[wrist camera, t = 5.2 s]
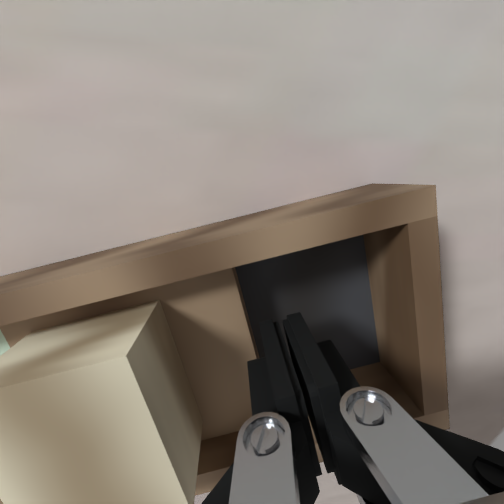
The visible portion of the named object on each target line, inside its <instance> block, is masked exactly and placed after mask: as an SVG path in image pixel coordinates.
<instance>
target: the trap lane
mask: <svg viewBox="0 0 504 504" xmlns="http://www.w3.org/2000/svg"><path fill="white" fill-rule="evenodd" d="M156 300H160V303H161V306H162V309H163V311H164V314H165V317H166V320H167V323H168V325H169V328H170V331H171V334H172V336H173V339H174V342H175V345H176V348H177V350H178V353H179V356H180V359H181V361H182V364H183V367H184V370H185V373H186V375H187V378H188V381H189V384H190V387H191V389H192V392H193V395H194V398H195V400H196V403H197V406H198V409H199V412H200V414H201V417H202V420H203V426H202V435H201V444H200V453H199V462H198V471H197V479H196V488H195V495H199V494H203V493H207V492H210V491H212V489H213V488H214V487H215V486H216V484H217V483H218V482H219V480H220V479H221V478H222V476H223V475H224V474H225V473H226V471H227V470H228V469H229V467H230V466H231V465H232V463H233V462H234V458H235V451H236V443H237V437H238V433H239V430H240V429H241V427H242V425H243V424H244V423H245V422H246V421H247V420H248V419H249V418H250V417H252V409H251V398H250V388H249V377H248V367H247V361H250V360H254V359H258V358H261V357H265V351H264V346H263V341H262V336H261V331H260V327H259V322H263V321H267V320H271V319H272V321H273V323H274V322H279V325H280V328H281V331H282V334H283V337H284V340H285V343H286V346H287V349H288V352H289V354H290V351H289V347H288V343H287V339H286V335H285V330H284V326H283V322H282V320H285V319H287V316H286V315H290V314H294V313H297V312H300V313H301V315H302V317H303V318H304V320H305V322H306V324H307V326H308V328H309V330H310V332H311V333H312V335H313V337H314V339H315V341H316V343H318V342H322V341H326V340H331V341H332V342H333V344H334V345H335V347H336V349H337V350H338V352H339V353H340V355H341V356H342V358H343V359H344V361H345V363H346V364H347V366H348V367H349V369H350V370H351V372H352V374H353V375H354V377H355V378H356V380H357V381H358V383H359V385H360V386H369V387H374V388H378V389H380V390H382V391H384V392H386V393H387V394H388V395H390V396H391V397H392V398H393V399H394V400H395V401H396V402H397V403H398V404H399V405H400V406H401V407H402V408H403V409H404V410H405V411H406V412H407V413H408V414H409V415H410V416H411V417H412V418H413V419H415V420H418V421H421V422H424V423H427V424H429V425H432V426H435V427H438V428H441V429H443V430H446V429H450V426H449V409H448V392H447V374H446V357H445V340H444V322H443V305H442V288H441V271H440V253H439V236H438V219H437V201H436V185H409V184H369V185H365V186H361V187H357V188H353V189H349V190H345V191H341V192H337V193H333V194H329V195H325V196H321V197H317V198H313V199H309V200H305V201H301V202H297V203H293V204H289V205H285V206H281V207H277V208H273V209H269V210H265V211H261V212H257V213H253V214H249V215H245V216H241V217H237V218H233V219H229V220H225V221H221V222H217V223H213V224H209V225H205V226H201V227H197V228H193V229H189V230H185V231H181V232H177V233H173V234H169V235H165V236H161V237H157V238H153V239H149V240H145V241H141V242H137V243H133V244H129V245H125V246H121V247H117V248H113V249H109V250H105V251H101V252H97V253H93V254H89V255H85V256H81V257H77V258H73V259H69V260H65V261H61V262H57V263H53V264H49V265H45V266H41V267H37V268H33V269H29V270H25V271H21V272H17V273H13V274H9V275H5V276H1V277H0V356H1V355H2V354H3V353H5V352H6V351H7V350H8V349H10V348H11V347H12V346H14V345H15V344H16V343H18V342H19V341H20V340H22V339H23V338H24V337H25V336H27V335H28V334H29V333H31V332H34V331H38V330H42V329H46V328H49V327H53V326H57V325H61V324H65V323H69V322H73V321H77V320H81V319H85V318H89V317H93V316H97V315H101V314H105V313H109V312H113V311H117V310H121V309H125V308H129V307H132V306H136V305H140V304H144V303H148V302H152V301H156ZM290 357H291V355H290ZM309 422H310V420H309ZM310 426H311V423H310ZM311 430H312V434H313V438H314V443H315V447H316V451H317V455H318V460H319V463H320V462H324V461H323V458H322V455H321V452H320V449H319V446H318V443H317V441H316V438H315V435H314V432H313V429H312V426H311ZM0 504H3V502H2V501H1V499H0Z"/></svg>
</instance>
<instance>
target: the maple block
mask: <svg viewBox="0 0 504 504" xmlns="http://www.w3.org/2000/svg"><path fill="white" fill-rule="evenodd" d="M202 426H203V420H202V417H201V414H200V412H199V409H198V406H197V403H196V400H195V398H194V395H193V392H192V389H191V387H190V384H189V381H188V378H187V375H186V373H185V370H184V367H183V364H182V361H181V359H180V356H179V353H178V350H177V348H176V345H175V342H174V339H173V336H172V334H171V331H170V328H169V325H168V323H167V320H166V317H165V314H164V311H163V309H162V306H161V303H160V300H156V301H152V302H148V303H144V304H140V305H136V306H132V307H129V308H125V309H121V310H117V311H113V312H109V313H105V314H101V315H97V316H93V317H89V318H85V319H81V320H77V321H73V322H69V323H65V324H61V325H57V326H53V327H49V328H46V329H42V330H38V331H34V332H31V333H29V334H28V335H27V336H25V337H24V338H23V339H22V340H20V341H19V342H18V343H16V344H15V345H14V346H12V347H11V348H10V349H8V350H7V351H6V352H5V353H3V354H2V355H1V356H0V499H1V501H2V502H3V504H194V497H195V488H196V479H197V471H198V462H199V453H200V444H201V435H202Z"/></svg>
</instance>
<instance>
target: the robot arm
mask: <svg viewBox="0 0 504 504" xmlns="http://www.w3.org/2000/svg"><path fill="white" fill-rule="evenodd" d="M286 316H287V319H285V320H282V322H283V326H284V330H285V335H286V339H287V343H288V347H289V351H290V354H289V352H288V349H287V346H286V343H285V340H284V337H283V334H282V331H281V328H280V325H279V322H274V323H273V321H272V319H271V320H267V321H263V322H259V327H260V331H261V336H262V341H263V346H264V351H265V357H261V358H258V359H254V360H250V361H247V367H248V377H249V388H250V398H251V409H252V417H250V418H249V419H248V420H247V421H246V422H245V423H244V424H243V425H242V427H241V429H240V430H239V433H238V437H237V443H236V451H235V458H234V462H233V463H232V465H231V466H230V467H229V469H228V470H227V471H226V473H225V474H224V475H223V476H222V478H221V479H220V480H219V482H218V483H217V484H216V486H215V487H214V488H213V489H212V491H211V492H210V493H209V495H208V496H207V497H206V499H205V500H204V501H203V502H202V504H314V503H315V500H316V498H317V496H318V494H319V492H320V490H319V486H318V482H317V478H316V476H319V475H322V472H321V468H320V464H319V460H318V455H317V451H316V447H315V443H314V438H313V434H312V430H311V426H312V429H313V432H314V435H315V438H316V441H317V443H318V446H319V449H320V452H321V455H322V458H323V461H324V464H325V467H326V470H327V473H331V472H334V473H335V476H336V478H337V481H338V484H339V485H341V484H342V486H344V487H346V488H348V489H349V490H351V491H353V492H354V493H356V494H357V497H358V500H359V502H360V504H504V452H503V451H501V450H499V449H496V448H493V447H491V446H488V445H485V444H482V443H480V442H477V441H474V440H471V439H468V438H466V437H463V436H460V435H457V434H454V433H452V432H449V431H446V430H443V429H441V428H438V427H435V426H432V425H429V424H427V423H424V422H421V421H418V420H415V419H413V418H412V417H411V416H410V415H409V414H408V413H407V412H406V411H405V410H404V409H403V408H402V407H401V406H400V405H399V404H398V403H397V402H396V401H395V400H394V399H393V398H392V397H391V396H390V395H388V394H387V393H386V392H384V391H382V390H380V389H378V388H374V387H369V386H360V385H359V383H358V381H357V380H356V378H355V377H354V375H353V374H352V372H351V370H350V369H349V367H348V366H347V364H346V363H345V361H344V359H343V358H342V356H341V355H340V353H339V352H338V350H337V349H336V347H335V345H334V344H333V342H332V341H331V340H326V341H322V342H318V343H316V341H315V339H314V337H313V335H312V333H311V332H310V330H309V328H308V326H307V324H306V322H305V320H304V318H303V317H302V315H301V313H300V312H297V313H294V314H290V315H286ZM290 355H291V357H290ZM309 420H310V422H309ZM310 423H311V426H310Z"/></svg>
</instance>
